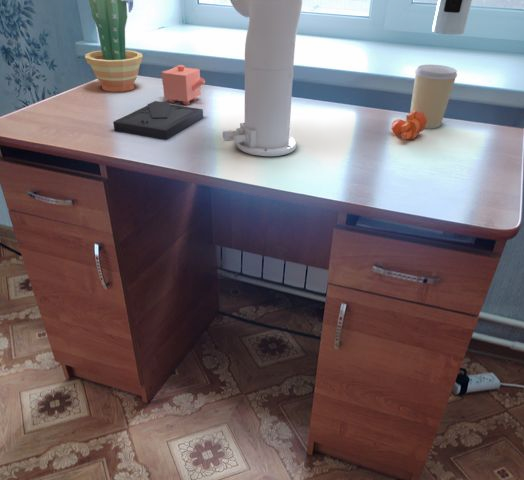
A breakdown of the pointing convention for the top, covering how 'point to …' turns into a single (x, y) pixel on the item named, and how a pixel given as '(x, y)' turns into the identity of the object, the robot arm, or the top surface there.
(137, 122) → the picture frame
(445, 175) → the top surface
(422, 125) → the orange lumpy piece
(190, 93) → the pink cube teapot
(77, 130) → the top surface
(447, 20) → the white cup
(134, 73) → the potted cactus
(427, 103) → the coffee cup
